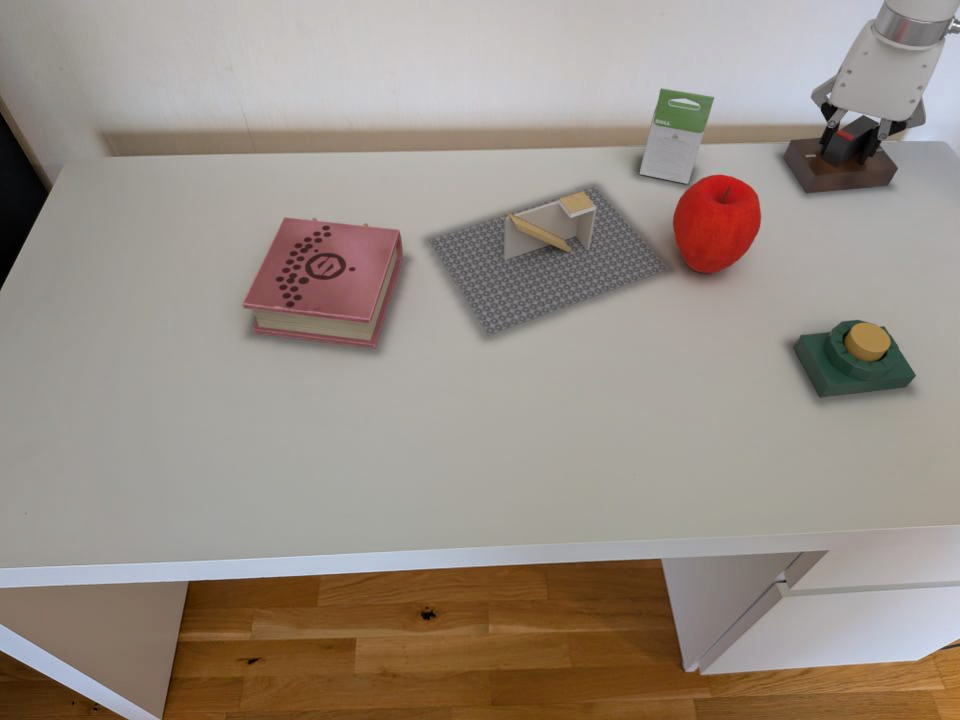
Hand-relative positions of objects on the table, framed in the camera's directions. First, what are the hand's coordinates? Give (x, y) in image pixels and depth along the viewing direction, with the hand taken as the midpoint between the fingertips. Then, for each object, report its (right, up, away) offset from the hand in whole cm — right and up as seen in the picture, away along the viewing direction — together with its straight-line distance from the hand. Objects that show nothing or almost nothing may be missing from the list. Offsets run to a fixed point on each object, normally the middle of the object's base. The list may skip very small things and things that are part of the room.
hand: (843, 152), depth 94 cm
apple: (-23, -17, -8) cm, 29 cm away
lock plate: (0, -2, +3) cm, 3 cm away
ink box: (-24, -2, +2) cm, 24 cm away
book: (-68, -21, -12) cm, 72 cm away
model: (-42, -15, -8) cm, 45 cm away
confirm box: (-9, -29, -18) cm, 36 cm away
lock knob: (0, 0, 0) cm, 0 cm away
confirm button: (-9, -27, -21) cm, 36 cm away
